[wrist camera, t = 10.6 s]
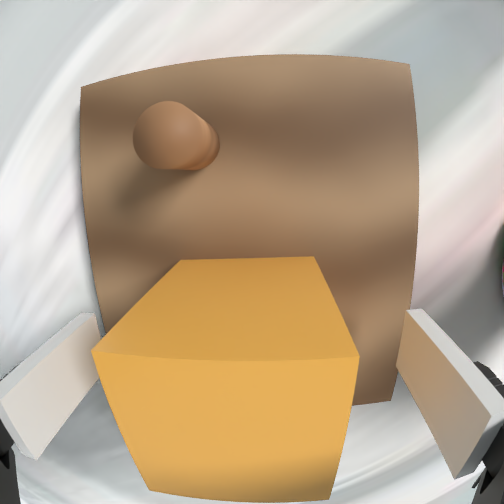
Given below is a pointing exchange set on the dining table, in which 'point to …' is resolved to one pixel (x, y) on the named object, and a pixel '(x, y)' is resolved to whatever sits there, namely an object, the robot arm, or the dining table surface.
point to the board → (260, 183)
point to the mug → (503, 277)
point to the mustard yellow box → (233, 380)
